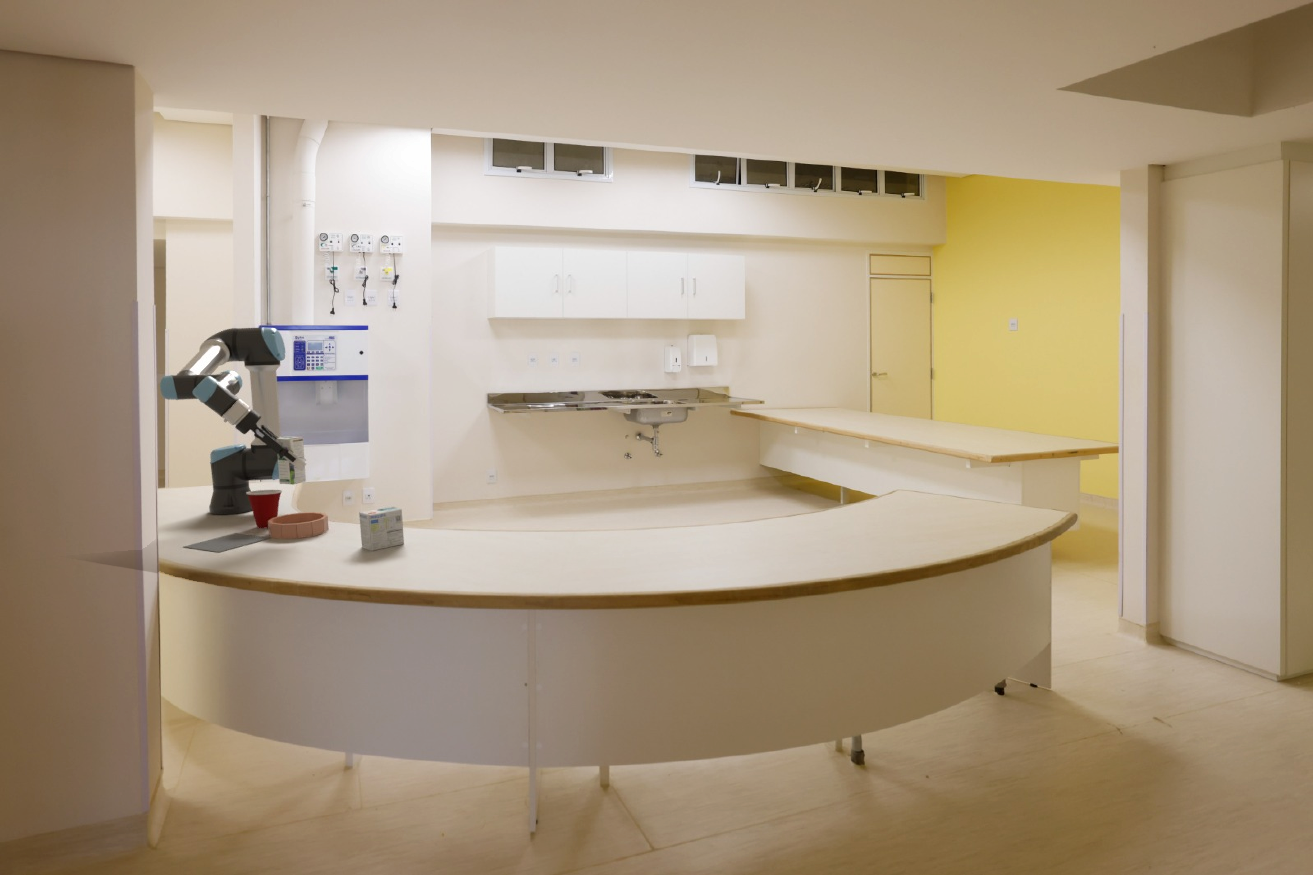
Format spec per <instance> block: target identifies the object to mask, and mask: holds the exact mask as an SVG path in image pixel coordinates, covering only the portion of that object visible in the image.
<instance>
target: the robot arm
mask: <svg viewBox="0 0 1313 875" xmlns="http://www.w3.org/2000/svg"><path fill="white" fill-rule="evenodd" d="M285 358H286V347H285V343H284V338H283V336H282V334H281V333H280V331H279V330H278V329H277V328H275V327H265V326H264V327H263V326H262V327H239V328H237V327H232V328H228V329H223V330H222V331H221V330H220V331H219V332H217V333H216V332H215V334H212V335H211V336H209V337H208V338H207V339H206V340H204V341H203V342H202V343H201V345H200V347H199V351H198V352H197V353H196V354H195V355H194V356H193V357H192V358H191V359H190V360H189V361H188V363H186V365H185V366H184V367H182V369H181V370H180V371H179V372H178V373H176V374H171V375H164V376H162V377H161V379H160V382H159V388H160V393H161V396H162V397H163V398H164V399H165V400H171V401H172V400H173V401H174V400H175V401H178V400H179V401H181V400H182V401H183V400H199V401H200V403H203V404H204V405H205V406H206V407H208V408H209V409H211V411H213V412H215V413H216V414H217V415H219V416H220V417H221V418H222V419H223V422H224V423H229V424H230V425H231V426H234V427H235V429H236V430H237V431H238V432H240V433H241V434H242V435H246V434H247V433H249V431H251V432H253V434H254V435H253V437H254V439H253V440H252V442H251V443H250V447H249V448H247V445H246V444H245V443H242V444H241V443H238V444H233V445H226V446H223V447H218V448H215V449H213V450H212V451H211V452H210V463H209V464H210V472H211V478H212V479H211V480H212V481H211V482H212V495H211V499H210V504H209V508H208V510H209V514H212V515H234V514H242V513H246V512H251V511H252V507H251V503H250V500H249V497H248V495H247V494H246V492H250V491H252V490H251V488H250V482H251V481H267V480H268V481H269V480H272V481H276V480H279V467H278V454H279V455H280V458H281V459H282V458H283V457H284V458H285V459H286V460H288V461H289V462H290V463H291V464H293V465H294V466H295V467H297V468H298V469H299V470H301V469H302V468H303V467H304V466H305V467H306V465H307V459H306V458H305V457H304V461H305V462H304V461H303V460H301V459H300V458H299V457H297V456H296V455H295V454H294V453H292V452H291V451H290V450H288V449H286V448H285V447H284V446H283V445H282V444H280V443H279V442H278V441H277V438H280V437H282V435H281V434H282V433H281V422H280V420H281V419H280V405H279V404H280V403H279V391H278V377H277V376H278V375H277V370H278V369H279V368H280V367H281V361H283V360H285ZM230 362H244V367H245V369H247V370H248V371H249V377H250V378H249V380H250V389H251V390H250V391H251V392H250V394H251V406H252V409H251V406H250V405H248V404H247V403H246V402H244V400H242V399H241V398H239V397H238V396H237V395H238V393H240V391H241V389H242V387H243V379H242V377H241V375H240V374H238V373H237V372H236V371H234V370H230V369H229V370H223V371H222V372H220V373H218V374H217V373H214V372H215V371H216V370H217V369H218V368H219V367H220V366H223V365H225V364H226V363H230Z"/></svg>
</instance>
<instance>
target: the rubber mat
mask: <svg viewBox="0 0 1313 875" xmlns="http://www.w3.org/2000/svg"><path fill="white" fill-rule="evenodd" d="M269 539H272V537H271V536H263V535H262V536H261V535H255V534H247V533H239V532H234V533H230V534H226V535H223V536H219V537H216V538H211V539H206V540H203V541H200V542H196V543H192V544H188V545H185V546H183V548H184V549H193V550H197V551H206V552H212V553H213V552H214V553H223V552H227V551H230V550H234V549H237V548H240V546H241V547H244V546H243V545H245V546H248V545H252V544H255V543H259V542H262V540H263V541H266V540H269ZM258 541H259V542H258ZM229 549H230V550H229Z"/></svg>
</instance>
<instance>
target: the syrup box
mask: <svg viewBox="0 0 1313 875" xmlns="http://www.w3.org/2000/svg"><path fill="white" fill-rule="evenodd" d="M277 441H278V442H279V443H280V444H282V445H283V446H284V447H285V448H286V449H288V450H290V451H291V452H292V453H294V454H295V455H296V456H297V457H299V458H300V459H301V460H303V461H304V458H305V449H304V437H303V436H281V437H280V438H277ZM304 462H305V463H306V461H304ZM278 467H279V479H278V480H279V481H278V482H279V485H292V486H293V485H294V486H295V485H298V484H301V483H305V482H307V478H306V477H307V476H306V465H305V466H304V467H303V468H302V469H301V470H299V469H298V468H297V467H295V466H294V465H293V464H291V463H290V462H289V461H288V460H286V459H285V458H284V457H283V458H282V459H281V458H280V455H279V454H278Z"/></svg>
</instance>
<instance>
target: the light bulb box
mask: <svg viewBox="0 0 1313 875" xmlns="http://www.w3.org/2000/svg"><path fill="white" fill-rule="evenodd" d="M358 515H359V524H360V525H359V526H360V529H359V530H360V540H361V548H363V549H365V550H367V551H370V552H373V551H376V550H384V549H385V548H391V547H395V546H400V545H404V544H405V538H404V522H403V510H402V508H398V507H394V506H387V507H382V508H376V509H372V510H365V511H359V514H358Z"/></svg>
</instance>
